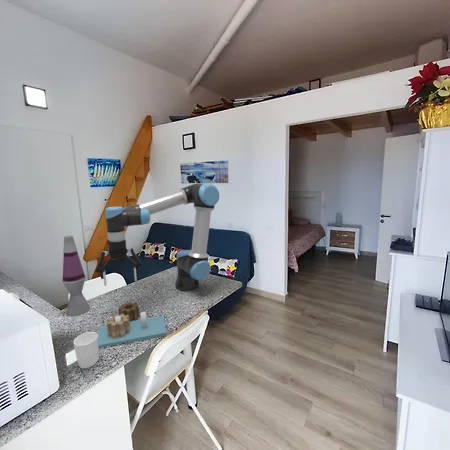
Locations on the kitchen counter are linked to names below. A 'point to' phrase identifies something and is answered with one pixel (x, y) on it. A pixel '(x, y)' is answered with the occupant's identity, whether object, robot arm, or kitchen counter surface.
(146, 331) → the gear board
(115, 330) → the maple gear
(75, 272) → the lamp
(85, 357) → the white cup
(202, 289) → the kitchen counter surface
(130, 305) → the walnut gear
